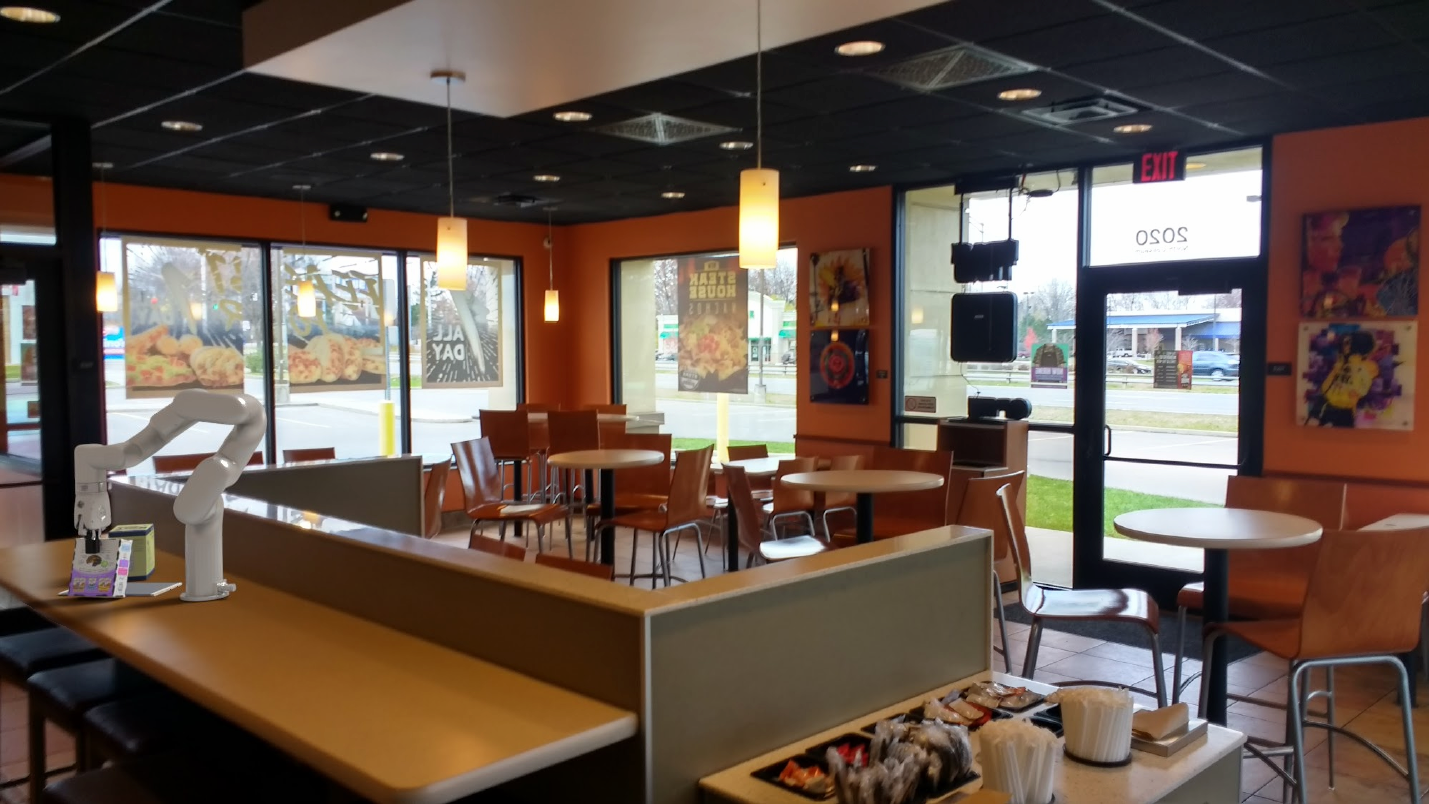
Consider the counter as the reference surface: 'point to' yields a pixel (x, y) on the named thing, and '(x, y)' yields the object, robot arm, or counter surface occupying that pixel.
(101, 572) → the candy box
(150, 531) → the protein box
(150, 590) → the gray flat board
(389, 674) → the counter surface
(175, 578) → the counter surface
